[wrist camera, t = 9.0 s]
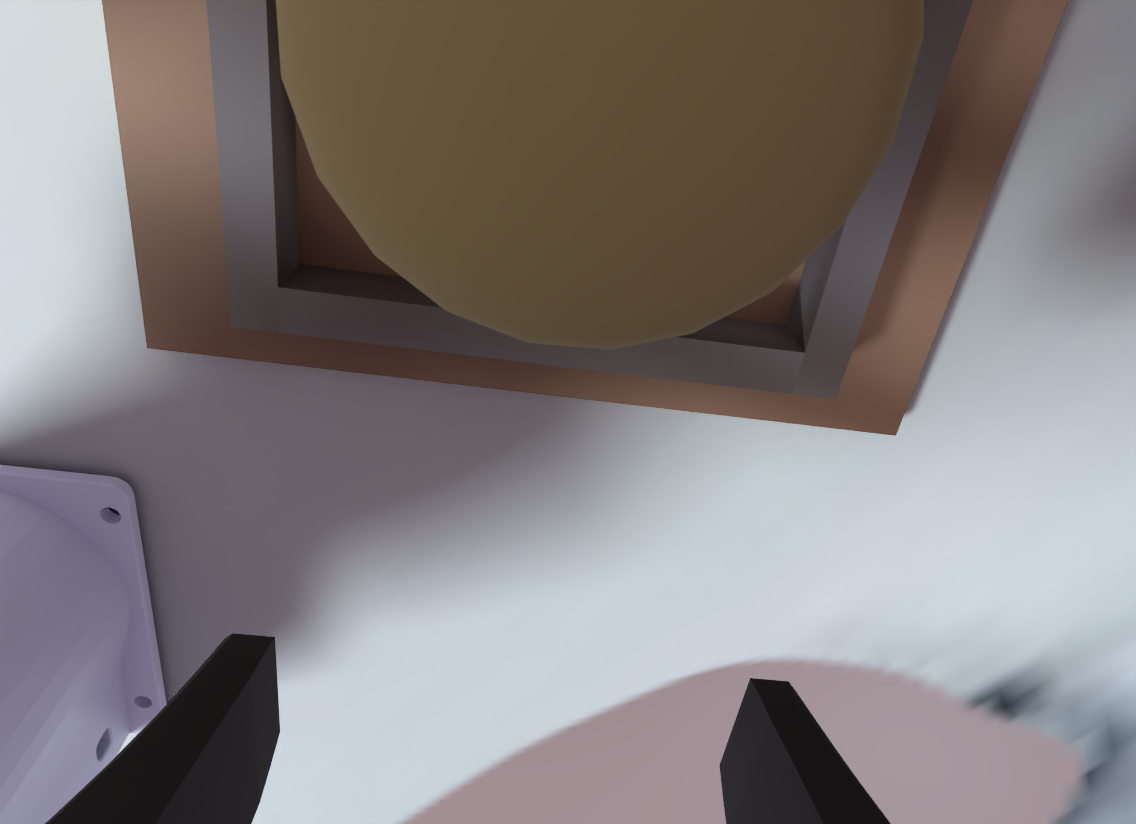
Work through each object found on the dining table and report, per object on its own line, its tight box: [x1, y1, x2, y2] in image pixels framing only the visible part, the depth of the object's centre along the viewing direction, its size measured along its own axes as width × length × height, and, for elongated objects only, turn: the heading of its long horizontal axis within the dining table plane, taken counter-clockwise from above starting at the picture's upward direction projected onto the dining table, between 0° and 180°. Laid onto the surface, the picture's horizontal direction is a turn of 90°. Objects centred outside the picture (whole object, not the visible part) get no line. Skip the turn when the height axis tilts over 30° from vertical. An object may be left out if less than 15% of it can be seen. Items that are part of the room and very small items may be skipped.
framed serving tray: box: [102, 0, 1068, 435], centre depth 15 cm, size 16×18×2 cm
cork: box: [276, 0, 924, 350], centre depth 10 cm, size 6×6×11 cm
